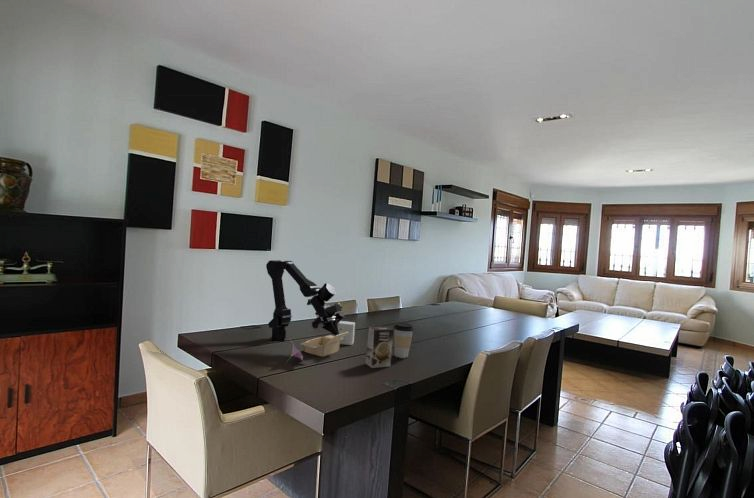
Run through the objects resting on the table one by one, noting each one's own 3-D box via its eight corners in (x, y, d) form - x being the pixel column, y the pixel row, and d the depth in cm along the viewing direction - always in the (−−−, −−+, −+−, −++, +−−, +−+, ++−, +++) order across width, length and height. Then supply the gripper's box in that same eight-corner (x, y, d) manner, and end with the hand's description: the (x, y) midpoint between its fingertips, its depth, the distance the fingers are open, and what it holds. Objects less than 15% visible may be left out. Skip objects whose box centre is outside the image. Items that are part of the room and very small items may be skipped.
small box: (353, 342, 203) (355, 322, 203) (352, 345, 197) (353, 324, 197) (338, 341, 204) (340, 320, 203) (336, 343, 198) (338, 322, 198)
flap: (335, 335, 173) (336, 335, 173) (348, 331, 182) (348, 332, 182) (324, 344, 176) (325, 345, 176) (337, 340, 185) (338, 341, 185)
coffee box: (371, 368, 165) (375, 329, 165) (365, 363, 171) (368, 326, 170) (390, 366, 169) (394, 329, 169) (383, 362, 175) (386, 325, 175)
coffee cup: (414, 356, 188) (416, 324, 188) (407, 360, 180) (409, 328, 179) (395, 352, 192) (398, 321, 192) (387, 356, 184) (390, 324, 183)
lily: (299, 372, 156) (312, 350, 158) (273, 358, 156) (286, 336, 159) (302, 372, 167) (314, 351, 170) (278, 358, 168) (290, 338, 171)
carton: (296, 353, 176) (297, 342, 176) (326, 344, 196) (327, 334, 195) (315, 359, 171) (316, 347, 171) (345, 348, 190) (345, 338, 190)
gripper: (319, 298, 173) (337, 329, 168) (343, 295, 189) (360, 322, 184) (303, 313, 177) (321, 343, 172) (328, 309, 193) (345, 336, 188)
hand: (338, 335), depth 179 cm, fingers closed
